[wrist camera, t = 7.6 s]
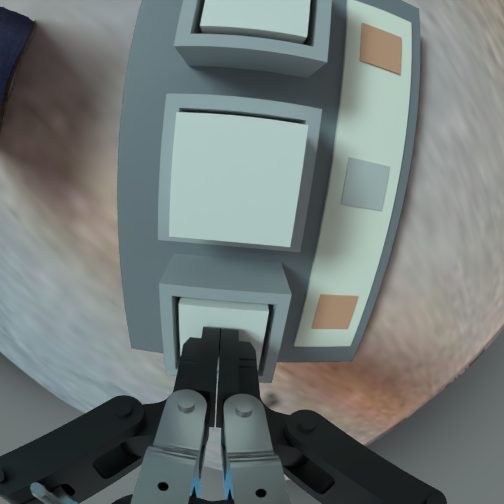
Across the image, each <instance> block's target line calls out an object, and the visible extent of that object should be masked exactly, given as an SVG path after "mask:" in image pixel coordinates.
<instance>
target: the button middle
mask: <svg viewBox="0 0 504 504" xmlns="http://www.w3.org/2000/svg"><path fill="white" fill-rule="evenodd" d="M307 132H308V125H304V124H298V123H292V122H286V121H279V120H272V119H264V118H255V117H246V116H236V115H224V114H210V113H189V112H176V121H175V131H174V143H173V155H172V170H171V188H170V213H169V237H181V238H193V239H204V240H216V241H227V242H239V243H250V244H261V245H272V246H283V247H290V245H291V239H292V233H293V227H294V221H295V215H296V208H297V202H298V196H299V189H300V182H301V176H302V169H303V162H304V155H305V147H306V140H307Z"/></svg>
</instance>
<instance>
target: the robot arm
mask: <svg viewBox="0 0 504 504" xmlns="http://www.w3.org/2000/svg"><path fill="white" fill-rule="evenodd" d="M219 335H220V328H214V327H203V330H202V337H201V338H194V337H190V338H189V339H188V340H187V341H186V342H185V343H184V344H183V348H182V353H181V357H180V363H179V367H178V371H177V376H176V381H175V386H174V390H173V393H172V394H171V395H170V396H169V397H168V398H167V399H166V400H164V401H162V402H159V403H153V404H143V405H142V404H141V403H140V401H138V400H137V399H136V398H134V397H131V396H125V395H122V396H117V397H114V398H112V399H110V400H109V401H107V402H105V403H103V404H102V405H100V406H98V407H96V408H94V409H93V410H91V411H89V412H87V413H85V414H84V415H82V416H80V417H78V418H77V419H75V420H73V421H71V422H69V423H67V424H65V425H63V426H62V427H59V428H58V429H55V430H54V431H52V432H50V433H48V434H46V435H44V436H42V437H40V438H38V439H36V440H34V441H32V442H30V443H28V444H26V445H24V446H21V447H19V448H17V449H15V450H13V451H11V452H9V453H7V454H5V455H2V456H0V496H1V497H2V498H3V499H5V500H6V501H7V502H8V503H9V504H79V503H81V502H82V501H84V500H86V499H87V498H89V497H91V496H93V495H94V494H96V493H98V492H99V491H101V490H103V489H104V488H106V487H107V486H109V485H111V484H112V483H114V482H116V481H117V480H119V479H120V478H122V477H123V476H125V475H126V474H128V473H129V472H131V471H132V470H134V469H135V468H137V467H138V466H140V465H141V464H142V465H141V469H140V472H139V475H138V479H137V482H136V486H135V489H134V493H133V494H131V495H128V496H125V497H123V498H120V499H118V500H116V501H115V502H113V503H112V504H291V503H290V499H289V495H288V490H287V486H286V482H285V477H284V474H285V475H286V476H287V477H288V478H290V479H291V480H292V481H293V482H295V483H296V484H297V485H298V486H299V487H301V488H302V489H303V490H305V491H306V492H307V493H308V494H310V495H311V496H312V497H314V498H315V499H316V500H318V501H319V502H320V503H322V504H447V501H446V498H445V496H444V494H443V493H442V492H440V491H439V490H437V489H435V488H433V487H432V486H430V485H428V484H426V483H424V482H422V481H421V480H418V479H417V478H415V477H414V476H412V475H410V474H408V473H407V472H405V471H403V470H402V469H400V468H398V467H397V466H395V465H393V464H392V463H390V462H389V461H387V460H385V459H384V458H382V457H381V456H379V455H377V454H376V453H374V452H373V451H371V450H370V449H368V448H367V447H365V446H364V445H362V444H361V443H359V442H358V441H356V440H355V439H353V438H352V437H351V436H349V435H348V434H346V433H345V432H343V431H342V430H341V429H339V428H338V427H336V426H335V425H334V424H332V423H331V422H329V421H328V420H327V419H325V418H324V417H323V416H321V415H320V414H318V413H316V412H314V411H311V410H299V411H296V412H294V413H292V414H291V415H286V414H282V413H278V412H275V411H273V410H271V409H269V408H268V407H267V406H265V405H264V403H263V402H262V400H261V398H260V390H259V380H258V369H257V358H256V350H255V348H254V347H253V345H252V344H251V342H245V341H239V331H238V329H227V328H221V342H220V357H219V375H218V394H217V416H216V427H219V428H221V457H222V469H223V480H224V500H221V501H207V500H204V499H200V488H201V478H202V471H203V465H204V458H205V452H206V445H207V441H208V437H209V427H214V423H215V403H216V384H217V367H218V351H219Z"/></svg>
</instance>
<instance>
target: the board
mask: <svg viewBox="0 0 504 504" xmlns="http://www.w3.org/2000/svg"><path fill="white" fill-rule="evenodd" d="M204 3H205V0H142V2H141V5H140V9H139V13H138V17H137V21H136V25H135V30H134V34H133V39H132V44H131V49H130V54H129V60H128V66H127V72H126V78H125V85H124V93H123V101H122V110H121V121H120V133H119V149H118V176H117V209H118V237H119V254H120V266H121V277H122V287H123V295H124V303H125V311H126V318H127V325H128V331H129V337H130V343H131V348H133V349H139V350H145V351H152V352H159V353H164V359H165V368H166V375H172V376H177V371H178V367H179V363H180V357H181V356H180V334H179V301H180V298H181V297H189V298H199V299H210V300H221V301H233V302H247V303H261V304H268V309H269V314H268V320H267V325H266V331H265V336H264V342H263V347H262V353H261V358H260V363H259V369H258V380H259V382H261V383H272V379H273V375H274V371H275V367H276V363H277V362H341V361H352V360H353V358H354V355H355V353H356V351H357V348H358V346H359V343H360V341H361V338H362V336H363V333H364V331H365V328H366V326H367V323H368V320H369V318H370V315H371V312H372V309H373V307H374V304H375V301H376V298H377V295H378V292H379V289H380V286H381V283H382V280H383V277H384V274H385V270H386V267H387V264H388V260H389V257H390V253H391V250H392V246H393V242H394V239H395V235H396V231H397V227H398V223H399V219H400V215H401V210H402V206H403V201H404V197H405V192H406V187H407V182H408V176H409V171H410V165H411V159H412V152H413V145H414V138H415V130H416V121H417V111H418V99H419V84H420V19H419V9H418V8H416V7H414V6H412V5H410V4H408V3H406V2H404V1H402V0H310V12H309V23H308V33H307V38H306V39H305V41H304V42H303V44H297V43H292V42H286V41H280V40H273V39H266V38H258V37H249V36H238V35H223V34H203V33H202V30H201V27H200V23H201V18H202V13H203V8H204ZM176 112H189V113H210V114H224V115H236V116H246V117H255V118H264V119H272V120H279V121H286V122H292V123H298V124H304V125H308V132H307V140H306V147H305V155H304V162H303V169H302V176H301V182H300V189H299V196H298V202H297V208H296V215H295V221H294V227H293V233H292V239H291V245H290V247H283V246H272V245H261V244H250V243H239V242H227V241H216V240H204V239H193V238H181V237H169V213H170V188H171V170H172V155H173V143H174V131H175V121H176ZM218 375H219V371H217V380H218Z"/></svg>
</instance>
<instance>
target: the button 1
mask: <svg viewBox="0 0 504 504" xmlns="http://www.w3.org/2000/svg"><path fill="white" fill-rule="evenodd" d="M268 314H269V309H268V304H261V303H247V302H233V301H221V300H210V299H199V298H189V297H181V298H180V301H179V334H180V356H181V353H182V348H183V344H184V343H185V342H186V341H187V340H188V339H189V338H190V337H194V338H201V337H202V330H203V327H214V328H220V335H219V351H218V367H217V371H219V357H220V342H221V328H227V329H238V331H239V341H245V342H251V344H252V345H253V347H254V348H255V350H256V358H257V369H259V363H260V358H261V353H262V347H263V342H264V336H265V331H266V325H267V320H268Z"/></svg>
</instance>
